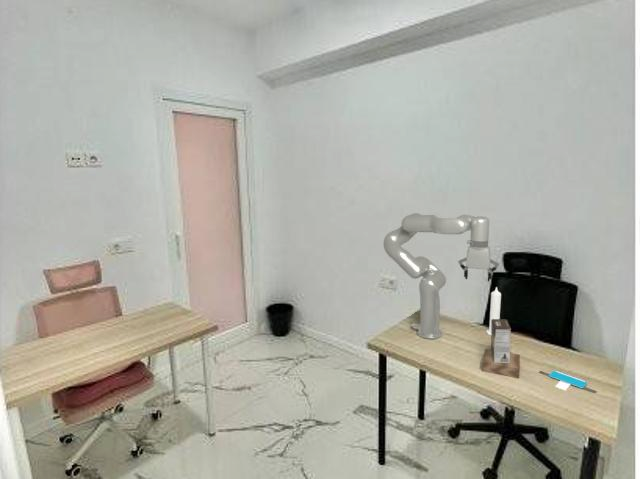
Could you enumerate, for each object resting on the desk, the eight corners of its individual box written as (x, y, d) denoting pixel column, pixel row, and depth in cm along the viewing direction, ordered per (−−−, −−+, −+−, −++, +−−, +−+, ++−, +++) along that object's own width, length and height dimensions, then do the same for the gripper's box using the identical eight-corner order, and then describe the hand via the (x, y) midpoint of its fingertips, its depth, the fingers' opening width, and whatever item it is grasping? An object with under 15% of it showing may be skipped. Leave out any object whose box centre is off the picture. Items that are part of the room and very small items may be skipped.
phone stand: (532, 379, 158) (533, 375, 158) (544, 368, 166) (544, 364, 165) (590, 401, 143) (590, 397, 143) (599, 387, 151) (600, 384, 150)
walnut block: (482, 372, 165) (482, 361, 163) (484, 358, 175) (484, 348, 174) (518, 379, 158) (519, 368, 157) (519, 365, 169) (519, 354, 168)
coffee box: (490, 352, 171) (490, 318, 167) (506, 352, 169) (507, 318, 166) (493, 363, 162) (494, 327, 159) (510, 364, 160) (511, 328, 157)
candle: (484, 333, 197) (486, 287, 191) (489, 328, 202) (491, 283, 196) (498, 337, 192) (501, 290, 187) (503, 332, 197) (506, 286, 192)
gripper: (458, 244, 176) (456, 280, 180) (499, 247, 168) (497, 284, 172) (460, 240, 182) (458, 275, 186) (500, 243, 175) (498, 278, 179)
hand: (477, 279), depth 179 cm, fingers open, 9 cm apart
